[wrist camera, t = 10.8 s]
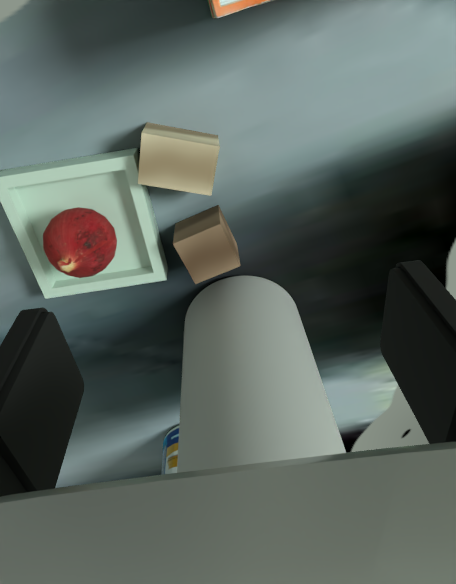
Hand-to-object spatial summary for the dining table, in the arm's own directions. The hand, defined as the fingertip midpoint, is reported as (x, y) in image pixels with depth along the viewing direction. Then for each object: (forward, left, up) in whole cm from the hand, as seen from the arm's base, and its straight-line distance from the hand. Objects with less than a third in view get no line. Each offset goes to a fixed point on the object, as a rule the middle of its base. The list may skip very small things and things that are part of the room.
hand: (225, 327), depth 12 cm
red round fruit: (+7, -12, -27) cm, 30 cm away
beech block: (+2, -3, -28) cm, 28 cm away
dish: (+7, -12, -28) cm, 31 cm away
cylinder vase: (+21, 0, -28) cm, 35 cm away
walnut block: (+10, -2, -28) cm, 30 cm away
